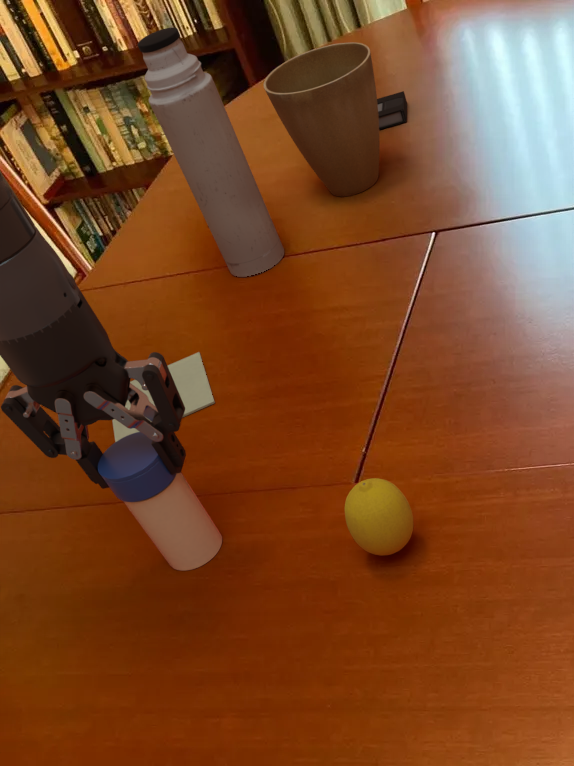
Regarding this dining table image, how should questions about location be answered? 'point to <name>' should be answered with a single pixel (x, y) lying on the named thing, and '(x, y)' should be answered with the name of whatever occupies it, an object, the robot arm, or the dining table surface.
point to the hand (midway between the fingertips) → (144, 474)
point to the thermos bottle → (209, 154)
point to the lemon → (378, 516)
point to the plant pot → (331, 113)
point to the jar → (178, 525)
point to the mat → (179, 390)
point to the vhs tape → (392, 110)
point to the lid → (134, 469)
